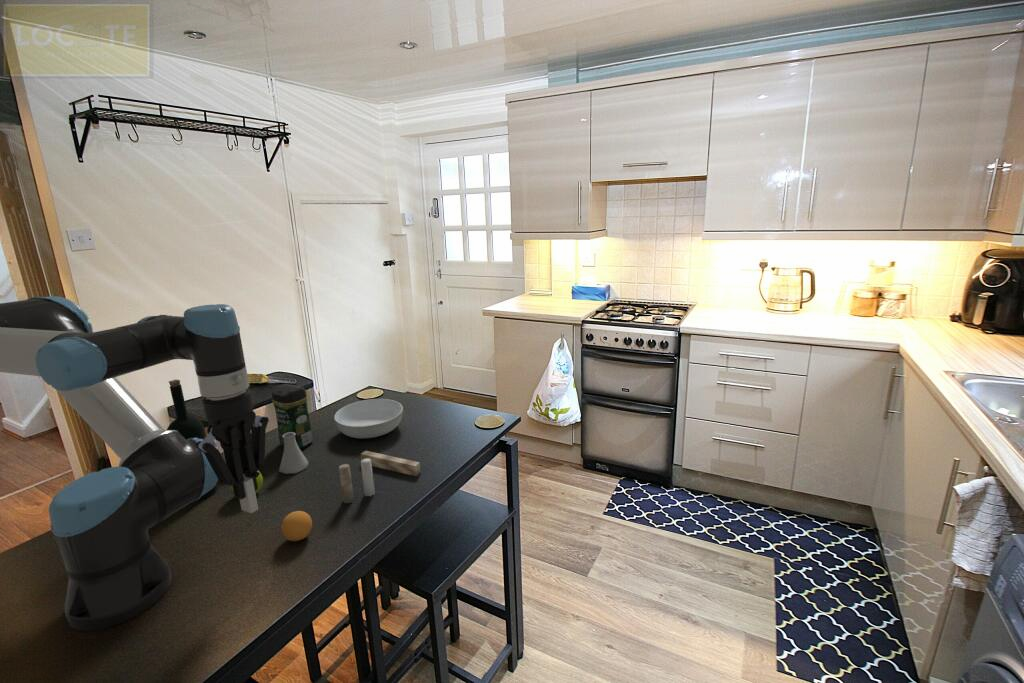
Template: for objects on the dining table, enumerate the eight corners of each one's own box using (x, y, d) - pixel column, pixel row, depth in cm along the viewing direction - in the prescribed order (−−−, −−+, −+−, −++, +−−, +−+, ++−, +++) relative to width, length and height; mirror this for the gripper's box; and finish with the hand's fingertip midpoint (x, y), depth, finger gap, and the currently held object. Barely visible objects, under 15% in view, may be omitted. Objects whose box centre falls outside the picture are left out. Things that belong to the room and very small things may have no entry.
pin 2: (366, 497, 117) (362, 464, 115) (363, 493, 119) (359, 460, 116) (376, 494, 118) (372, 461, 116) (372, 490, 120) (368, 457, 118)
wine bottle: (164, 503, 117) (135, 387, 110) (206, 482, 126) (181, 373, 118) (183, 511, 114) (154, 392, 106) (224, 489, 123) (201, 377, 115)
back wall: (420, 472, 128) (419, 462, 127) (416, 476, 126) (415, 466, 125) (366, 460, 135) (365, 450, 134) (362, 463, 133) (360, 453, 132)
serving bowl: (322, 442, 146) (319, 421, 145) (362, 415, 166) (359, 396, 164) (382, 450, 140) (380, 428, 139) (416, 420, 160) (414, 401, 158)
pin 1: (345, 504, 115) (340, 470, 112) (342, 499, 117) (337, 466, 114) (355, 500, 116) (350, 467, 114) (352, 496, 118) (347, 463, 115)
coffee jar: (275, 445, 145) (265, 387, 141) (298, 434, 152) (289, 379, 147) (295, 452, 140) (285, 393, 135) (318, 441, 147) (309, 384, 142)
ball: (287, 551, 99) (282, 526, 97) (281, 536, 104) (276, 512, 102) (317, 539, 102) (313, 515, 101) (310, 525, 107) (306, 501, 106)
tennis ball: (254, 484, 124) (249, 459, 123) (270, 491, 121) (266, 466, 119) (227, 498, 119) (222, 472, 117) (243, 506, 115) (238, 480, 113)
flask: (297, 476, 128) (292, 441, 125) (273, 473, 129) (267, 439, 127) (313, 462, 135) (308, 429, 132) (290, 460, 136) (285, 428, 134)
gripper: (204, 409, 78) (231, 535, 84) (272, 382, 89) (292, 495, 95) (175, 403, 81) (203, 525, 87) (244, 378, 92) (265, 487, 98)
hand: (250, 509), depth 91 cm, fingers closed
